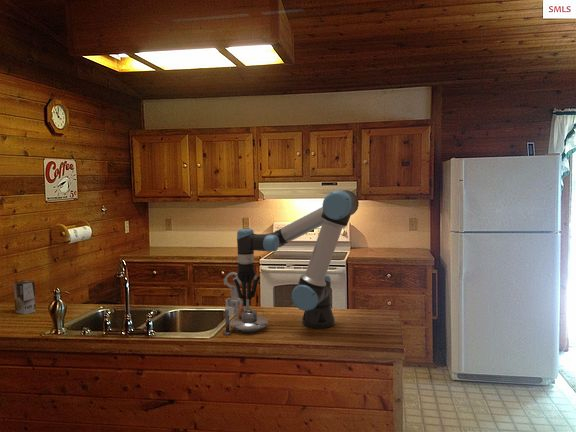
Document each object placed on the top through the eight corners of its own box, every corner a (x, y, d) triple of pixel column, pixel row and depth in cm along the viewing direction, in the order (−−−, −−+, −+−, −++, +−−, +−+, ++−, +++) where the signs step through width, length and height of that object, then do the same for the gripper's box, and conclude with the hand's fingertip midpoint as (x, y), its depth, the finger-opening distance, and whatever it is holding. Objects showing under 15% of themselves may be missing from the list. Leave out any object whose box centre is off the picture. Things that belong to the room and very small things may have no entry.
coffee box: (36, 311, 250) (35, 281, 249) (24, 314, 244) (22, 283, 243) (27, 309, 255) (25, 280, 254) (14, 312, 249) (13, 282, 248)
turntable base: (267, 328, 215) (267, 323, 215) (251, 335, 205) (251, 330, 205) (247, 324, 222) (247, 320, 222) (230, 330, 212) (230, 326, 212)
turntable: (266, 318, 223) (266, 302, 222) (269, 329, 206) (268, 312, 205) (230, 320, 221) (230, 304, 220) (229, 331, 204) (229, 313, 203)
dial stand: (225, 335, 205) (225, 309, 204) (221, 333, 208) (220, 307, 207) (234, 333, 207) (234, 307, 206) (230, 331, 210) (229, 306, 210)
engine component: (243, 314, 239) (246, 309, 249) (242, 274, 238) (246, 270, 248) (222, 314, 240) (226, 309, 250) (221, 274, 239) (225, 270, 249)
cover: (256, 318, 217) (255, 307, 217) (258, 322, 211) (257, 310, 210) (240, 319, 216) (240, 308, 216) (242, 323, 209) (242, 312, 209)
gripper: (235, 265, 212) (236, 316, 214) (261, 262, 217) (262, 312, 220) (230, 262, 219) (231, 312, 221) (255, 259, 224) (257, 308, 227)
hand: (247, 312), depth 221 cm, fingers closed
